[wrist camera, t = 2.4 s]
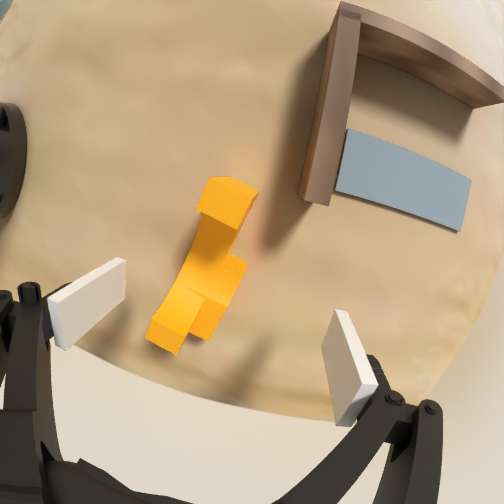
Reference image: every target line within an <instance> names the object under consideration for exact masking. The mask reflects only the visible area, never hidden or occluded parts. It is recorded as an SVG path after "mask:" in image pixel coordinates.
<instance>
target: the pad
mask: <svg viewBox="0 0 504 504" xmlns="http://www.w3.org/2000/svg"><path fill="white" fill-rule="evenodd" d="M470 186H471V179H469V178H467V177H465V176H463V175H461V174H459V173H457V172H455V171H453V170H451V169H449V168H447V167H445V166H443V165H441V164H439V163H437V162H435V161H433V160H430V159H428V158H426V157H424V156H421V155H419V154H417V153H414V152H412V151H410V150H407V149H405V148H402V147H400V146H397V145H395V144H392V143H389V142H387V141H384V140H381V139H378V138H376V137H373V136H370V135H367V134H364V133H361V132H358V131H355V130H351V129H347V134H346V139H345V144H344V149H343V154H342V159H341V164H340V168H339V173H338V177H337V182H336V186H335V190H336V191H340V192H343V193H347V194H350V195H354V196H357V197H361V198H364V199H368V200H371V201H374V202H377V203H381V204H384V205H387V206H390V207H393V208H396V209H399V210H402V211H405V212H408V213H411V214H414V215H417V216H420V217H423V218H426V219H428V220H431V221H434V222H437V223H439V224H442V225H445V226H447V227H450V228H452V229H455V230H457V231H460V230H461V226H462V222H463V218H464V214H465V210H466V205H467V201H468V196H469V191H470Z"/></svg>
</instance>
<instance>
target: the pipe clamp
mask: <svg viewBox="0 0 504 504" xmlns="http://www.w3.org/2000/svg"><path fill="white" fill-rule="evenodd" d="M258 193H259V191H258V190H256V189H254V188H252V187H250V186H248V185H246V184H244V183H241V182H239V181H237V180H235V179H233V178H231V177H211V178H210V179H209V181H208V183H207V185H206V187H205V190H204V192H203V194H202V196H201V198H200V200H199V203H198V205H197V207H196V209H197V210H199V211H201V220H200V224H199V228H198V231H197V234H196V237H195V239H194V242H193V244H192V247H191V249H190V251H189V254H188V256H187V258H186V260H185V263H184V265H183V267H182V269H181V271H180V273H179V275H178V277H177V279H176V281H175V282H174V284H173V286H172V288H171V290H170V292H169V293H168V295H167V297H166V298H165V300H164V302H163V303H162V305H161V306H160V308H159V309H158V311H157V312H156V314H155V315H154V317H153V318H152V319H151V322H150V325H149V328H148V331H147V334H146V337H145V339H147V340H149V341H151V342H153V343H154V344H156V345H158V346H160V347H162V348H164V349H166V350H167V351H169V352H171V353H173V354H175V355H177V354H178V352H179V350H180V348H181V346H182V344H183V343H184V341H185V339H186V337H187V335H188V333H189V332H190V333H192V334H194V335H196V336H198V337H200V338H202V339H204V340H206V341H208V342H209V340H210V338H211V336H212V334H213V333H214V331H215V329H216V327H217V325H218V323H219V321H220V320H221V318H222V316H223V314H224V312H225V310H226V308H227V306H228V304H229V302H230V300H231V298H232V296H233V294H234V292H235V290H236V288H237V286H238V284H239V282H240V281H241V279H242V277H243V275H244V273H245V270H246V267H247V264H248V263H246V262H244V261H242V260H240V259H239V258H237V257H235V256H233V255H231V254H229V251H230V249H231V247H232V245H233V243H234V241H235V239H236V237H237V235H238V233H239V231H240V229H241V227H242V225H243V223H244V221H245V219H246V217H247V215H248V213H249V211H250V209H251V207H252V205H253V203H254V201H255V199H256V197H257V195H258Z"/></svg>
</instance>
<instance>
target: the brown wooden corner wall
mask: <svg viewBox="0 0 504 504" xmlns="http://www.w3.org/2000/svg"><path fill="white" fill-rule="evenodd" d="M357 53H359V54H362V55H365V56H368V57H370V58H373V59H376V60H379V61H381V62H384V63H386V64H389V65H391V66H394V67H396V68H398V69H401V70H403V71H405V72H407V73H409V74H412V75H414V76H416V77H418V78H420V79H422V80H424V81H426V82H428V83H430V84H432V85H434V86H436V87H437V88H439V89H441V90H443V91H445V92H446V93H448V94H450V95H452V96H453V97H455V98H457V99H458V100H460V101H462V102H463V103H465V104H466V105H468V106H470V107H471V108H473V109H476V108H480V107H484V106H489V105H494V104H499V103H504V87H503V86H502V85H501V84H500V83H499V82H497V81H496V80H495V79H494V78H492V77H491V76H490V75H488V74H487V73H486V72H484V71H483V70H482V69H480V68H479V67H478V66H476V65H475V64H473V63H472V62H470V61H469V60H468V59H466V58H465V57H463V56H462V55H460V54H458V53H457V52H455V51H454V50H452V49H450V48H449V47H447V46H445V45H444V44H442V43H440V42H438V41H437V40H435V39H433V38H431V37H429V36H427V35H425V34H424V33H422V32H420V31H418V30H416V29H413V28H411V27H409V26H407V25H405V24H403V23H400V22H398V21H396V20H394V19H391V18H389V17H386V16H384V15H381V14H379V13H376V12H373V11H370V10H368V9H365V8H362V7H359V6H356V5H353V4H349V3H346V2H342V1H341V2H340V5H339V7H338V10H337V12H336V15H335V17H334V20H333V23H332V25H331V28H330V30H329V35H328V42H327V47H326V53H325V59H324V65H323V70H322V76H321V81H320V87H319V92H318V98H317V103H316V108H315V113H314V118H313V123H312V128H311V133H310V138H309V143H308V147H307V152H306V157H305V162H304V166H303V171H302V175H301V180H300V185H299V189H298V193H297V194H298V195H299V196H300V197H301V198H302V199H303V200H305V201H309V202H313V203H317V204H321V205H325V206H329V203H330V199H331V195H332V191H333V186H334V182H335V177H336V173H337V168H338V164H339V159H340V154H341V149H342V144H343V139H344V134H345V129H346V123H347V118H348V112H349V106H350V100H351V94H352V88H353V81H354V74H355V67H356V60H357Z"/></svg>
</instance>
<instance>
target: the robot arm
mask: <svg viewBox="0 0 504 504" xmlns="http://www.w3.org/2000/svg"><path fill="white" fill-rule="evenodd" d="M12 2H13V0H0V23H1V21H2V19H3V18H4V16H5V15H6V13H7V12H8V10H9V9H10V7H11V5H12ZM26 149H27V139H26V127H25V122H24V118H23V115H22V113H21V111H20V109H19V108H18V107H17V106H16V105H14V104H11V103H1V102H0V218H1V217H4V216H5V215H7V214H8V213H9V212H10V210H11V209H12V207H13V206H14V204H15V202H16V200H17V197H18V194H19V191H20V188H21V185H22V180H23V176H24V170H25V162H26ZM125 284H126V260H124V259H121V258H117V257H116V258H114V259H113V260H111V261H109V262H107V263H105V264H104V265H102V266H100V267H98V268H97V269H95V270H93V271H91V272H90V273H88V274H86V275H84V276H83V277H81V278H79V279H78V280H76V281H74V282H70V283H67V284H64V285H63V286H61V287H59V288H58V289H56V290H55V291H53V292H51V293H49V294H48V295H46V296H44V297H43V298H42V297H41V290H40V285H39V284H38V283H36V282H25V283H22V284H20V285H19V286H18V288H17V289H18V295H19V301H20V302H17V301H13V297H12V293H11V292H10V291H7V290H0V387H1V384H2V381H3V379H4V376H5V374H6V378H5V389H4V404H3V410H1V409H0V504H192V503H189V502H185V501H181V500H178V499H175V498H171V497H168V496H161V495H153V494H146V493H141V492H135V491H132V490H130V489H129V488H127V487H126V486H125V485H123V484H122V483H120V482H119V481H118V480H116V479H115V478H113V477H112V476H111V475H109V474H108V473H107V472H105V471H104V470H102V469H99V468H97V467H96V466H94V465H92V464H90V463H88V462H86V461H84V460H82V459H81V458H80V459H79V461H78V462H77V463H73V462H69V461H64V460H63V458H62V456H61V453H60V449H59V444H58V439H57V432H56V425H55V418H54V410H53V401H52V389H51V364H50V363H51V361H50V341H49V339H50V338H52V337H53V336H54V340H55V345H56V346H58V347H60V348H61V349H63V350H65V351H66V350H68V349H69V348H70V347H71V346H72V345H73V344H74V343H75V342H76V341H78V340H79V339H80V338H81V337H82V336H83V335H84V334H85V333H86V332H88V331H89V330H90V329H91V328H92V327H93V326H94V325H95V324H97V323H98V322H99V321H100V320H101V319H102V318H103V317H104V316H106V315H107V314H108V313H109V312H110V311H111V310H113V309H114V308H115V307H116V306H117V305H118V304H119V303H121V302H122V301H123V300H124V299H125ZM321 349H322V353H323V358H324V363H325V368H326V373H327V379H328V384H329V389H330V394H331V400H332V406H333V411H334V417H335V423H336V426H346V427H351V426H352V425H353V423H354V422H355V421H356V419H357V421H358V422H357V423H356V425H355V426H354V427H353V428H352V429H351V430H350V432H349V433H348V434H347V435H346V436H345V437H344V438H343V440H342V441H341V442H340V443H339V444H338V445H337V446H336V447H335V448H334V449H333V451H332V452H330V454H328V456H327V457H326V458H325V459H324V460H323V461H322V462H321V463H320V464H319V465H318V466H316V468H314V469H313V470H312V471H311V472H310V473H309V474H308V475H307V476H306V477H305V478H304V479H303V480H301V482H299V483H298V484H297V485H296V486H295V487H293V488H292V489H291V490H290V491H289V492H288V493H286V494H285V495H284V496H283V497H282V498H280V499H279V500H277V501H275V502H273V503H272V504H337V503H338V502H339V501H340V499H341V498H342V497H343V496H344V495H345V493H346V492H347V491H348V490H349V489H350V488H351V486H352V485H353V484H354V482H355V481H356V480H357V479H358V477H359V476H360V475H361V474H362V472H363V471H364V470H365V468H366V467H367V465H368V464H369V463H370V461H371V460H372V458H373V457H374V456H375V454H376V453H377V451H378V450H379V448H380V447H381V445H382V443H383V442H386V443H390V444H391V445H390V449H389V453H388V457H387V460H386V464H385V467H384V471H383V474H382V477H381V481H380V484H379V487H378V490H377V493H376V496H375V498H374V501H373V504H437V499H438V492H439V485H440V476H441V465H442V464H441V463H442V446H443V412H442V408H441V407H440V405H439V404H438V403H436V402H435V401H432V400H428V399H426V400H423V401H421V403H420V404H419V405H418V406H414V405H410V404H407V403H405V399H404V398H403V396H402V395H401V394H400V393H398V392H396V391H394V390H391V388H390V386H389V383H388V381H387V379H386V376H385V374H384V372H383V370H382V369H381V365H380V363H379V361H378V360H377V359H376V358H375V357H374V356H373V355H366V354H365V351H364V349H363V347H362V344H361V342H360V340H359V337H358V335H357V333H356V331H355V328H354V326H353V324H352V322H351V319H350V317H349V315H348V313H347V311H342V310H337V309H335V311H334V314H333V317H332V319H331V322H330V325H329V327H328V330H327V333H326V335H325V338H324V340H323V343H322V345H321Z"/></svg>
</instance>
